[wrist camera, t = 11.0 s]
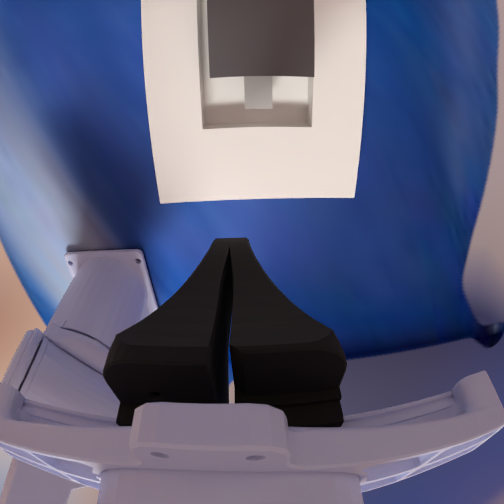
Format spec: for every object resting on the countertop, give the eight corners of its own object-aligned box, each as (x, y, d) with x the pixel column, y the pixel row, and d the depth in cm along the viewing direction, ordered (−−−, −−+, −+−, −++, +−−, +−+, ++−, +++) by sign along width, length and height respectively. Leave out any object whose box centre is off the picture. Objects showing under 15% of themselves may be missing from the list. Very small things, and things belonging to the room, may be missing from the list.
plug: (292, 103, 18) (313, 119, 13) (220, 104, 18) (212, 121, 13) (291, 7, 14) (313, -15, 9) (216, 8, 14) (206, -16, 9)
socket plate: (343, 183, 22) (356, 201, 19) (167, 188, 22) (158, 207, 19) (349, -47, 12) (365, -60, 9) (152, -46, 12) (139, -60, 9)
